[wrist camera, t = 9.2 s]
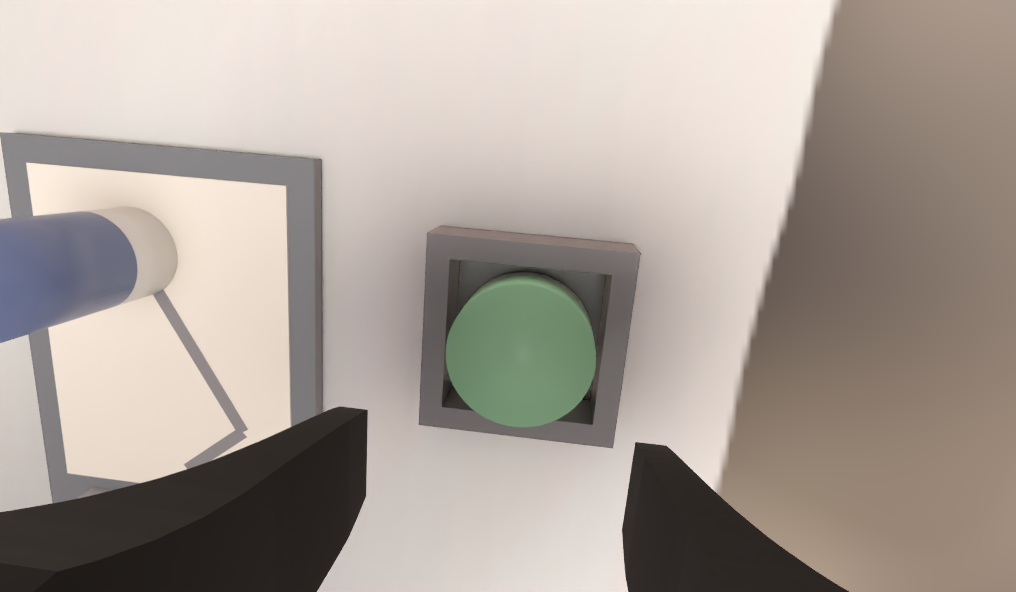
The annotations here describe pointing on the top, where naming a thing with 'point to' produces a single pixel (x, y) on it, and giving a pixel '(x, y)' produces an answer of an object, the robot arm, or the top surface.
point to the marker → (79, 265)
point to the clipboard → (178, 310)
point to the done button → (522, 350)
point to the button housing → (601, 257)
